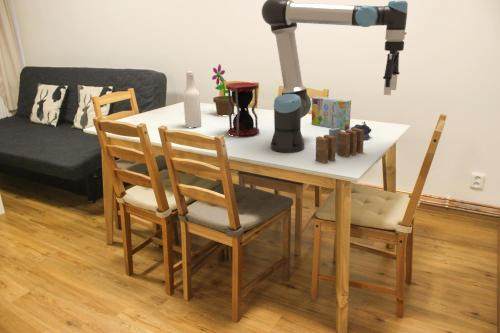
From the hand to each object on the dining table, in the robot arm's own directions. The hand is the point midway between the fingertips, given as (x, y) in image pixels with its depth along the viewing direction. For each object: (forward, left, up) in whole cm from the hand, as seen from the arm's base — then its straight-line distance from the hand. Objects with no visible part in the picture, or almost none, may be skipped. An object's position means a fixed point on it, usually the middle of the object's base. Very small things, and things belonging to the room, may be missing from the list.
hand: (389, 92), depth 188 cm
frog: (-12, +14, -25) cm, 31 cm away
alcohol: (-102, +19, -25) cm, 107 cm away
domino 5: (-14, -13, -25) cm, 31 cm away
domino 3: (-22, -23, -25) cm, 40 cm away
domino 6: (-12, -10, -25) cm, 29 cm away
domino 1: (-24, -26, -25) cm, 43 cm away
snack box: (-29, +34, -25) cm, 51 cm away
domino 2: (-21, -11, -25) cm, 34 cm away
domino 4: (-17, -16, -25) cm, 34 cm away
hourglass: (-70, +11, -25) cm, 75 cm away
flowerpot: (-96, +53, -25) cm, 113 cm away
